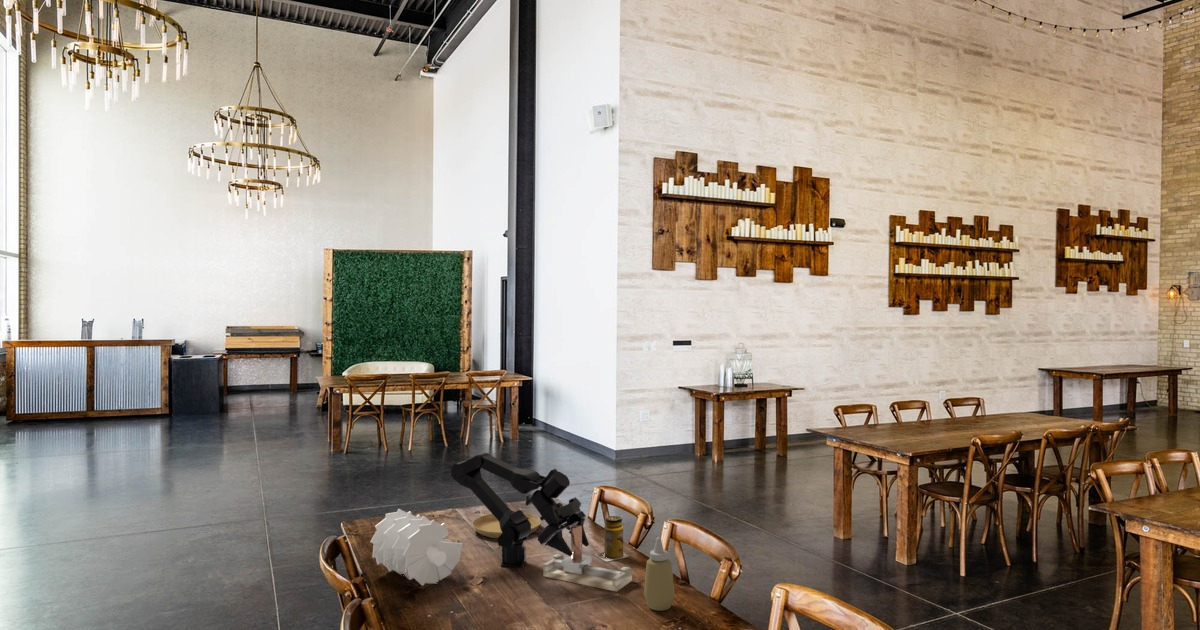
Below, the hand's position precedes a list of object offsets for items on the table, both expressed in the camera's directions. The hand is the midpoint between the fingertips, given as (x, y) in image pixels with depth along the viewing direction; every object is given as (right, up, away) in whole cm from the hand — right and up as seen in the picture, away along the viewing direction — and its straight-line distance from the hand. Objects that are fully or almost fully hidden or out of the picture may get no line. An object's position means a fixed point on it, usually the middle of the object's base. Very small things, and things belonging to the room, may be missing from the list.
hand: (579, 550), depth 210 cm
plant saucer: (-27, -8, +45) cm, 53 cm away
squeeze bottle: (+21, -8, -21) cm, 31 cm away
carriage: (-1, -6, +1) cm, 6 cm away
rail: (+2, -8, -1) cm, 8 cm away
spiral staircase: (-48, -9, +2) cm, 49 cm away
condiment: (+10, -8, +17) cm, 21 cm away
